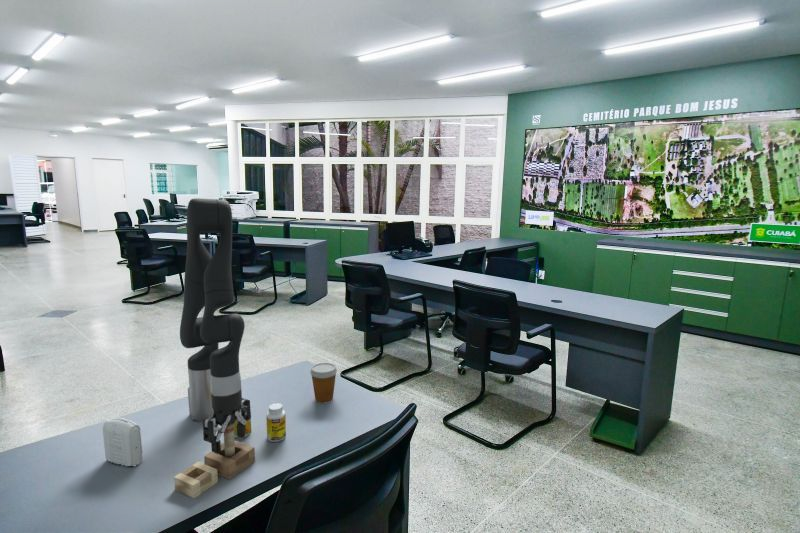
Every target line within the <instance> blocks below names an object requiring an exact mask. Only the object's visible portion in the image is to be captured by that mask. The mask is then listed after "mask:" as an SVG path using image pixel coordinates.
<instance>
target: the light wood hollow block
mask: <svg viewBox="0 0 800 533" xmlns="http://www.w3.org/2000/svg"><path fill="white" fill-rule="evenodd" d="M218 476H219V475H218V474H217V469H215V468H213V467H210V466H208V465H205V463H202V462H200V461H196V462H195V463H193V464H192V465H191V466H189V467H187V468H186V469H185V470H183V471H181V472H180V473H178V474H176V475H174V476H173V481H174V490H175V491H176V492H180V493H181V494H183V495H186V496H187V497H190V498H192V499H196V498H197V497H199V496H201V494H203V493H204V492H206V491H207V490H208V489H209V488H211V487H212V486H214V485H216V483H218V482H219V478H218Z"/></svg>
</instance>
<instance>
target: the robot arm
mask: <svg viewBox="0 0 800 533" xmlns="http://www.w3.org/2000/svg"><path fill="white" fill-rule="evenodd" d="M202 233H203V234H207V233H211V234H213V233H214V234H215V233H216V234H219V242H218V245H217V248H216V249H215V252H214V254H213V255H211V254H210V252H209V251H208V250H207V248H206V246H205V245H204V243H203V241H202V239H201V234H202ZM186 247H187V248H186V256H185V257H186V258H185V269H184V282H183V290H184V291H183V295H184V296H183V306H182V307H183V308H182V314H181V320H180V324H179V325H180V326H179V340H180V343H181V345H182V346H183V347H184V348H186V349H194V348H198V347H199V348H200V347H202V348H201V349H200V350H199V351H196V352H195V353H194V354H192V355H191V356H189V358H188V359H187V375H188V376H187V377H188V387H187V399H188V410H189V413H188V414H189V415H190V416H191V419H192V420H194V421H198V422H202V436H203V437H202V438H203V441H204V442H207V443H210V445H211V451H212V452H214V453H216V454H219V453H221V445H222V444H221V440H220V439H221V437H222V436H223V434H224V431H225V429H226V427H228V426H229V425H230V424H232V423H234V422H235V421H236V422H237V423H238V424H237V436H238V437H240V438H239V439H244V438H245V433H246V431H245V424H246V421H247V420H250V419H251V420H252V410H251V400H250V399H247V398H244V397H243V395H242V394H243V393H242V392H243V390H242V378H241V373H240V348H241V343H242V340H243V337H244V334H245V332H244V331H245V327H246V326H245V320H244V318H243V317H242V315H240V314H239V313H227V314H226V313H225V314H216V315H215V312H217V311H218V310H219V309H223V308H225V307H228V306H231V305H232V304H234V301H235V294H234V285H233V276H232V274H233V272H232V259H233V258H232V257H233V255H232V254H233V210H232V206H231V204H230V202H229V201H227V200H226V199H219V198H218V199H215V198H192V199H191V198H190V200H189V202H188V204H187V209H186ZM202 310H203V315H202V316H201V317H198V316H199V314H200V312H201V311H202ZM227 342H228V344H227V345H225V346H223V347H221V348H219V344H220V343H227ZM240 410H241V414H240V413H239V412H240ZM219 426H220V428H219ZM238 437H237V438H238Z"/></svg>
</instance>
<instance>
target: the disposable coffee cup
mask: <svg viewBox="0 0 800 533" xmlns="http://www.w3.org/2000/svg"><path fill="white" fill-rule="evenodd" d="M309 372H310V373H309V374H310V375H311V380H312V386H313V393H314V399H315V402H317V403H319V402H320V403H319V404H326V403H325V402H327V403H330V402H332V401H333V400H332V399H334V393H335V385H336V377H337V372H338V368H337V366H336V365H335V364H333V363H331V362H320V363H317V364H316V363H315V364H314V365H312V366H311V368H310V371H309ZM331 400H332V401H331ZM329 401H330V402H329Z"/></svg>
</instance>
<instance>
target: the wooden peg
mask: <svg viewBox="0 0 800 533" xmlns="http://www.w3.org/2000/svg"><path fill="white" fill-rule="evenodd" d="M234 440H235V436H234V423H232V424H230V425H229V426H228V427H226V429H225V431H224V433H223V443H224V450H225V457H227V458H231V457H232V456H234V455H235V442H234Z"/></svg>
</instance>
